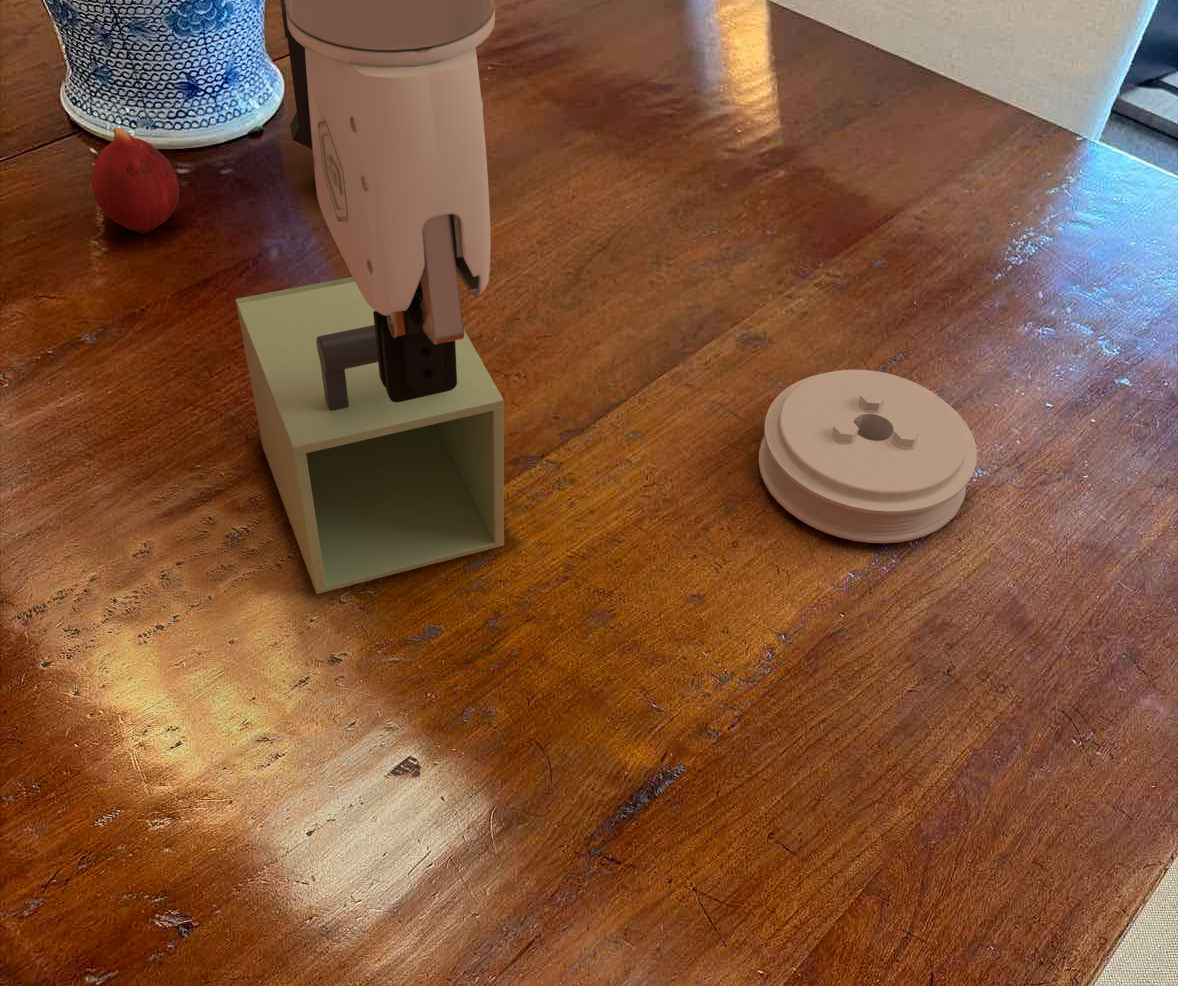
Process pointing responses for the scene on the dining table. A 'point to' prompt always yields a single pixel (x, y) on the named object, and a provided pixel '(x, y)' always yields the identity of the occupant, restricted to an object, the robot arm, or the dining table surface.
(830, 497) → the lid
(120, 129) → the onion
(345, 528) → the bin
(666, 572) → the dining table surface
